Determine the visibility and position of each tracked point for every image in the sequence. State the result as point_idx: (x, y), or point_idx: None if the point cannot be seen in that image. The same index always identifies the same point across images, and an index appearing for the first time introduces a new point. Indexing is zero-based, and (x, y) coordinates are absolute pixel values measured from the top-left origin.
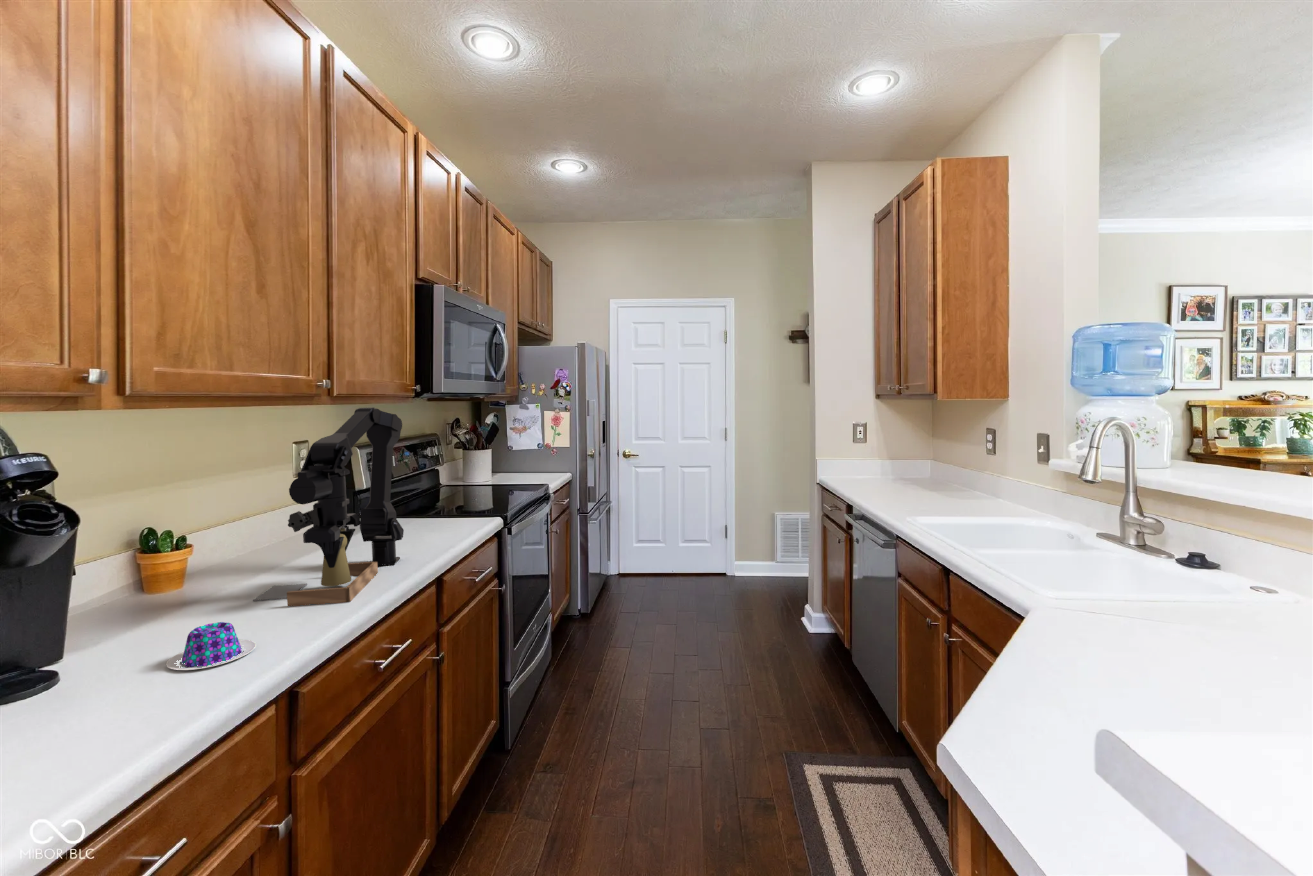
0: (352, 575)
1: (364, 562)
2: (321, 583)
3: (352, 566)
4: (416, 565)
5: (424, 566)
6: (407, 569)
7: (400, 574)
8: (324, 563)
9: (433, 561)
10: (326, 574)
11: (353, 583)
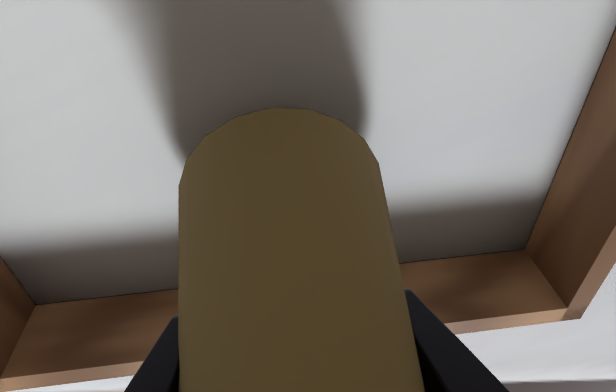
0: (565, 155)
1: (608, 267)
2: (224, 130)
3: (608, 197)
4: (586, 344)
5: (547, 369)
6: (536, 337)
7: (461, 339)
8: (203, 303)
9: (609, 371)
10: (183, 239)
11: (85, 378)
